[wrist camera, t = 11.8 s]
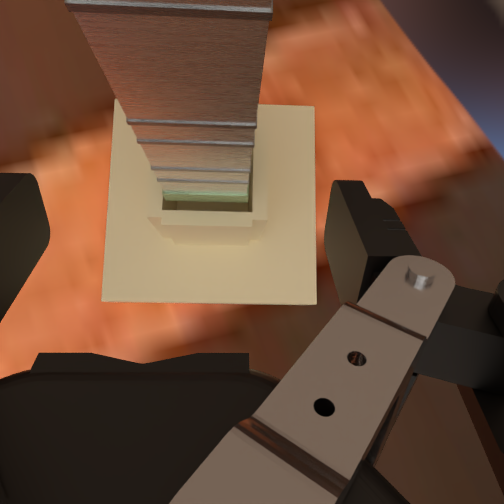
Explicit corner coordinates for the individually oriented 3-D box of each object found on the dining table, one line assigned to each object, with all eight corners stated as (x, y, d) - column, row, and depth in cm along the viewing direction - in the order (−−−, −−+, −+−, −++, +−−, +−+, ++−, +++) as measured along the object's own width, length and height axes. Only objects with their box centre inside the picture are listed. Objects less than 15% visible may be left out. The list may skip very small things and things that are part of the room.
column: (165, 200, 22) (36, -41, 7) (169, 123, 23) (58, -239, 8) (247, 202, 22) (282, -28, 8) (248, 126, 23) (281, -223, 8)
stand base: (107, 302, 29) (66, 295, 22) (120, 109, 32) (86, 44, 24) (312, 305, 30) (339, 299, 23) (310, 116, 32) (334, 54, 25)
